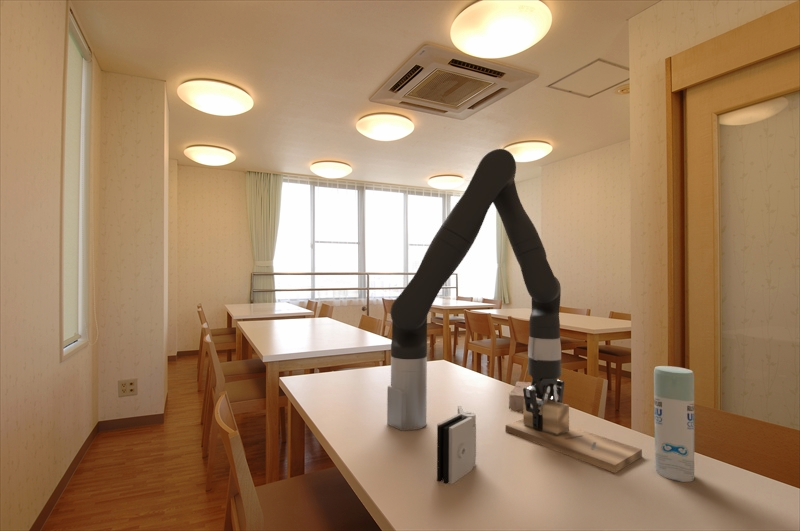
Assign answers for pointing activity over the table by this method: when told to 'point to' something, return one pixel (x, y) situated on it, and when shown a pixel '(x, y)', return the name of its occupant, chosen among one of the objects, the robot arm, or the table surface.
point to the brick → (518, 395)
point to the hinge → (456, 446)
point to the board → (581, 446)
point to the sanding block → (550, 417)
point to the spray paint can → (674, 422)
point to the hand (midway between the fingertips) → (544, 426)
